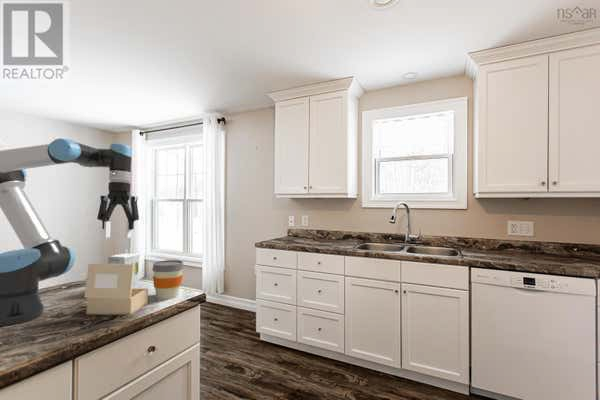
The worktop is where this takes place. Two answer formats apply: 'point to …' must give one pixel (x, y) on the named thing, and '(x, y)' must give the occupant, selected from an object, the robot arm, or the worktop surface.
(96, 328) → the worktop surface
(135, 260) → the supplement box
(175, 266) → the reusable coffee cup
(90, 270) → the lid
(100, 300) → the mailer
